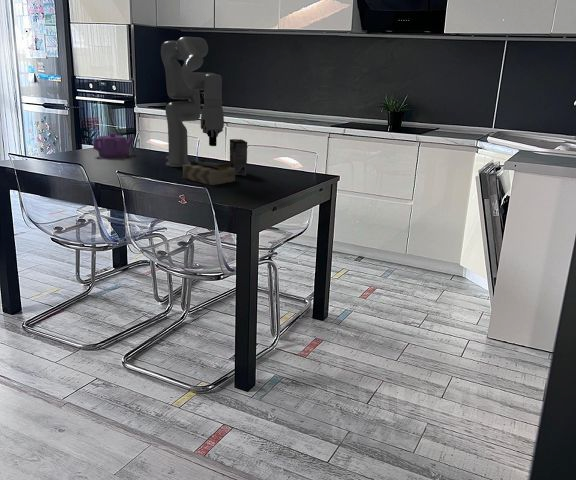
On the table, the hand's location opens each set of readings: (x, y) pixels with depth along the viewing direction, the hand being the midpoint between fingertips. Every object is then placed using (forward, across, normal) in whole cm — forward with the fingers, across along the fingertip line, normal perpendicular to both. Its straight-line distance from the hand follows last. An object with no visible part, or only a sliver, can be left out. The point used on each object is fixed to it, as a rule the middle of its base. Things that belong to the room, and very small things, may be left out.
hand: (212, 145), depth 248 cm
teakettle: (+17, -1, -83) cm, 85 cm away
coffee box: (+16, -20, -4) cm, 26 cm away
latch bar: (+9, 0, -3) cm, 10 cm away
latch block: (+16, 0, -2) cm, 16 cm away
